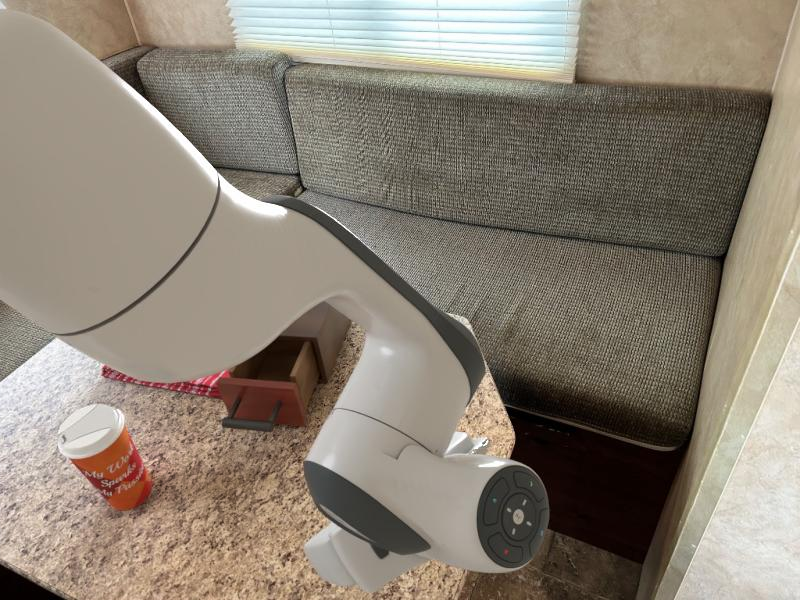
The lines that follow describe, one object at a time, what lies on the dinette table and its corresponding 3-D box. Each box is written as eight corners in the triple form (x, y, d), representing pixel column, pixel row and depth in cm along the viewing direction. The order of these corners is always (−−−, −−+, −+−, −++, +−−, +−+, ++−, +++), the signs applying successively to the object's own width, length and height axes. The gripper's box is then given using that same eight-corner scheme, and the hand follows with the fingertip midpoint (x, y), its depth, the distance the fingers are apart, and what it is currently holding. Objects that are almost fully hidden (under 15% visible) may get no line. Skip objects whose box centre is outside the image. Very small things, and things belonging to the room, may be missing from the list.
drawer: (294, 455, 82) (281, 418, 77) (217, 447, 84) (199, 410, 79) (331, 359, 96) (322, 322, 91) (263, 354, 98) (251, 318, 93)
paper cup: (112, 529, 77) (63, 463, 68) (93, 490, 82) (45, 424, 73) (170, 492, 80) (130, 424, 71) (148, 457, 85) (108, 390, 76)
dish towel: (228, 402, 92) (223, 390, 90) (100, 380, 98) (93, 369, 97) (276, 327, 104) (272, 315, 103) (160, 312, 111) (154, 301, 109)
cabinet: (328, 383, 93) (316, 337, 87) (252, 377, 95) (235, 332, 89) (351, 320, 104) (342, 275, 98) (282, 316, 106) (270, 273, 100)
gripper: (481, 412, 61) (422, 421, 73) (316, 546, 52) (280, 530, 64) (514, 465, 61) (450, 465, 73) (355, 608, 52) (312, 581, 64)
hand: (370, 496), depth 69 cm, fingers open, 8 cm apart
